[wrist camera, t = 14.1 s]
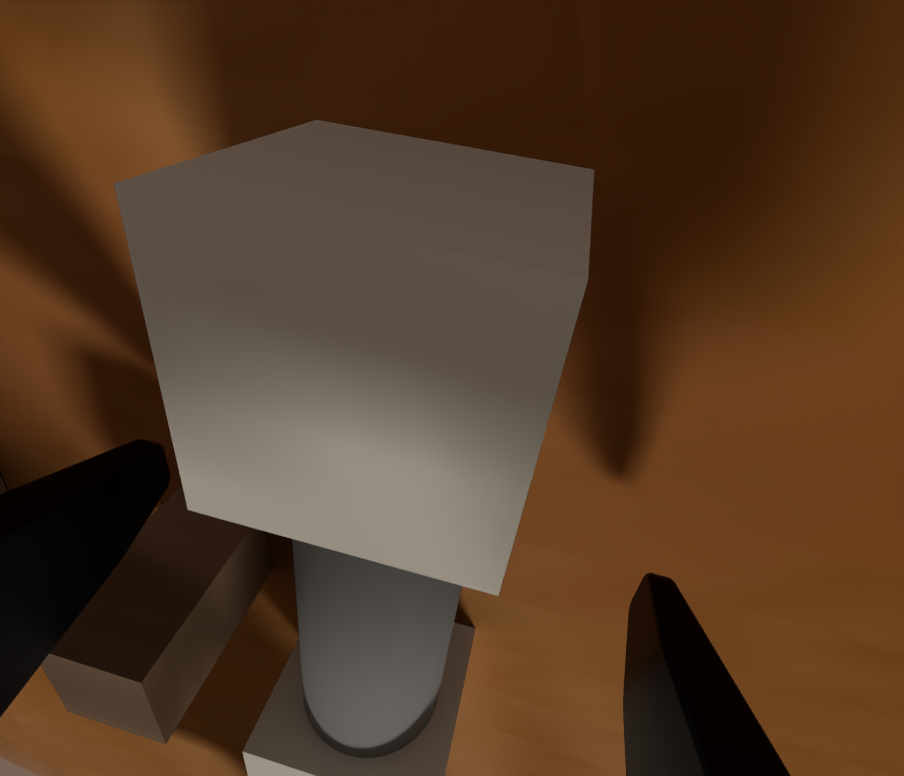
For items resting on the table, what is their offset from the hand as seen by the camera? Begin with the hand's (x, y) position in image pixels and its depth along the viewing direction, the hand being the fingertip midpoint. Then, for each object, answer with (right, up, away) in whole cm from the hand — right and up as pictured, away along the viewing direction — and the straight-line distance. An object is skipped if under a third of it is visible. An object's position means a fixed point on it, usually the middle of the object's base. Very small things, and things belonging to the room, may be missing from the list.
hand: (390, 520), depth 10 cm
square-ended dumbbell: (0, 0, +2) cm, 2 cm away
